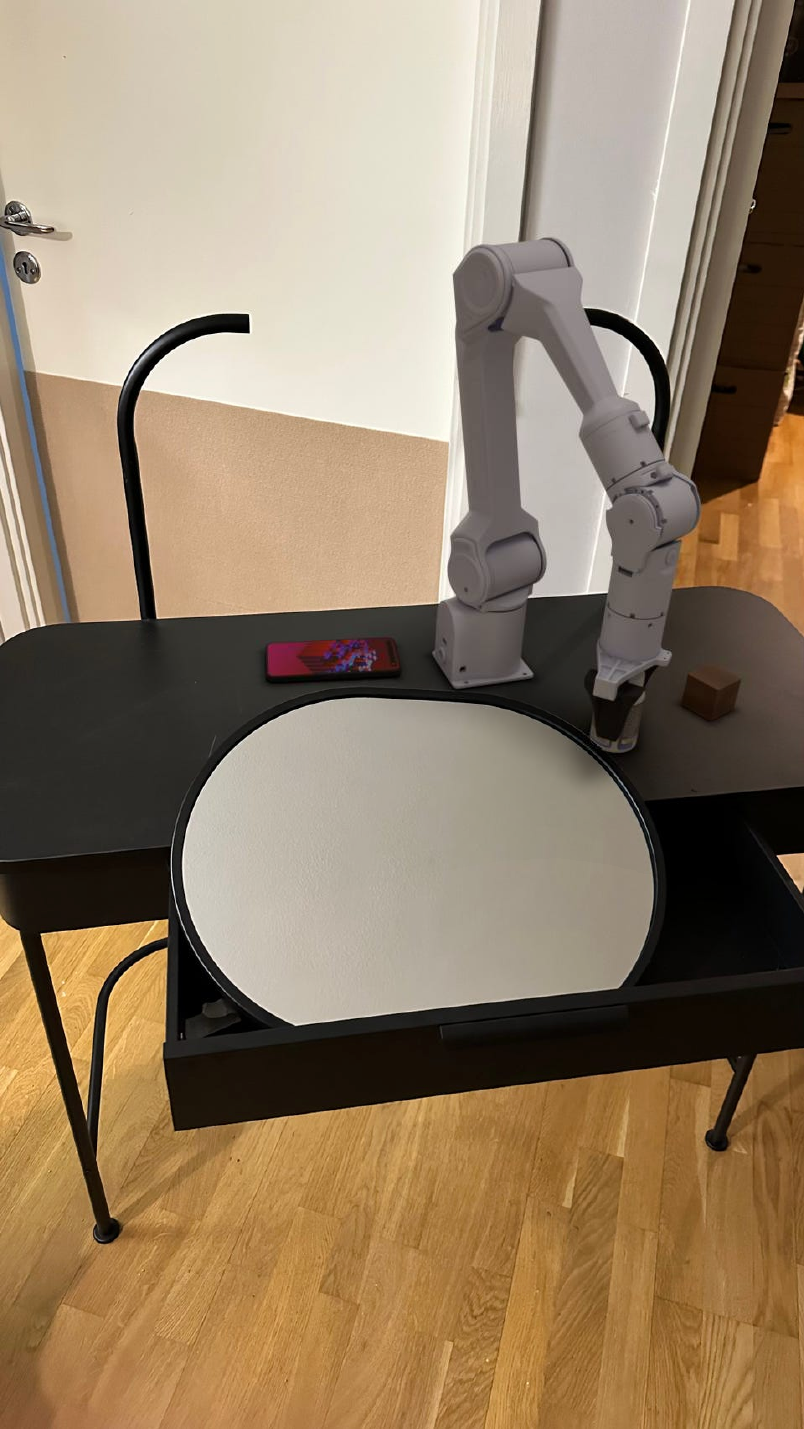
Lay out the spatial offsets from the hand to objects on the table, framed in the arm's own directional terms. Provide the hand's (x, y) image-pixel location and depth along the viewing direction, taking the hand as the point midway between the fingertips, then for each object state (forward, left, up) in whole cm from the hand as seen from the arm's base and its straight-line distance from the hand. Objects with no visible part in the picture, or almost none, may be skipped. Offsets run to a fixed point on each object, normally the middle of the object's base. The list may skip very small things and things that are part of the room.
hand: (615, 724), depth 99 cm
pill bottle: (0, 0, -2) cm, 2 cm away
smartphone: (-24, +22, -2) cm, 33 cm away
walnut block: (+13, +3, -2) cm, 13 cm away
